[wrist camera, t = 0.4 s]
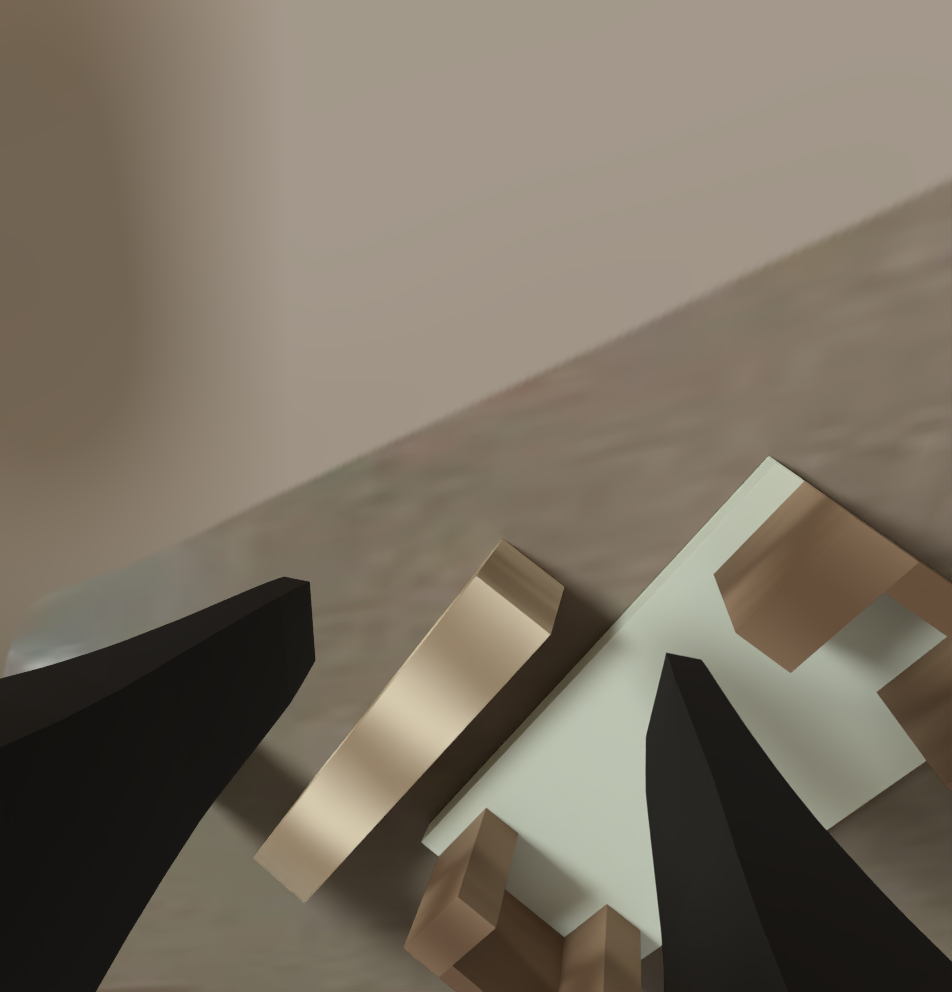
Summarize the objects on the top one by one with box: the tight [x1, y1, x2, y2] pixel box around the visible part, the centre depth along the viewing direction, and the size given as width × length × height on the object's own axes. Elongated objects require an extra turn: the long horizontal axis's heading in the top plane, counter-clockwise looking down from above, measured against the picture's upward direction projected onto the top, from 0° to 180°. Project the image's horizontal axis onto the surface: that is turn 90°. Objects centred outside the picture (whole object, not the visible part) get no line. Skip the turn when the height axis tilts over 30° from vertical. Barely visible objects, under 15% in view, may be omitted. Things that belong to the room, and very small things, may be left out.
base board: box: [421, 456, 947, 960], centre depth 20 cm, size 22×10×1 cm, turn 146°
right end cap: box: [714, 481, 952, 791], centre depth 15 cm, size 4×8×4 cm, turn 56°
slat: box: [253, 539, 564, 903], centre depth 22 cm, size 18×3×4 cm, turn 145°
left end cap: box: [404, 808, 642, 992], centre depth 21 cm, size 4×8×4 cm, turn 56°
